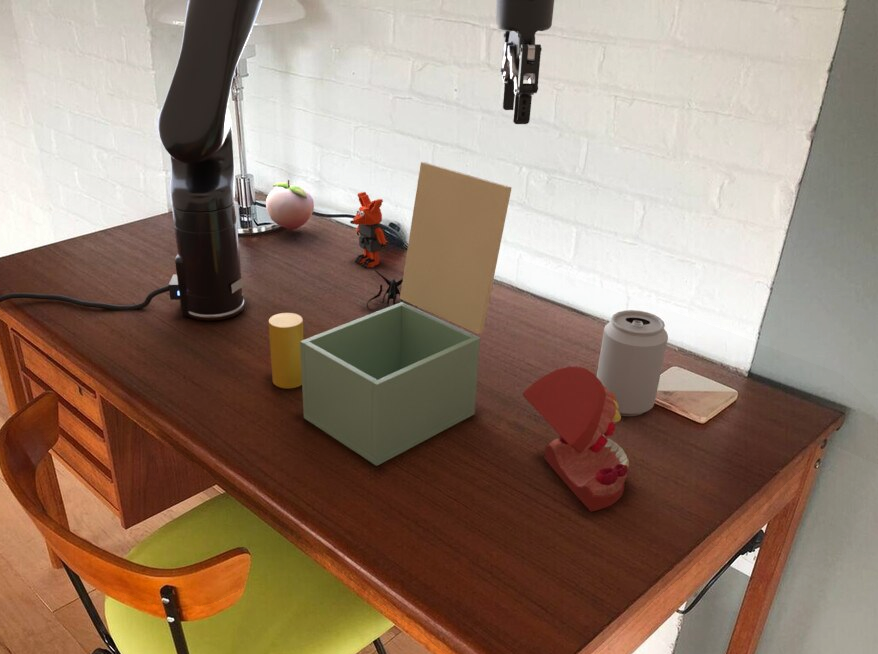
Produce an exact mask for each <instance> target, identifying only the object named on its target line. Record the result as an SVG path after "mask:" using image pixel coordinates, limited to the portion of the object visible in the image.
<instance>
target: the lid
mask: <svg viewBox="0 0 878 654" xmlns="http://www.w3.org/2000/svg"><path fill="white" fill-rule="evenodd" d="M419 165H420V166H419V171H418V178H417V184H416V191H415V196H414V197H415V199H414V204H413V209H412V210H413V211H412V217H411V224H410V230H409V235H408V243H407V250H406V256H405V263H404V268H403V269H404V270H403V276H402V278H403V282H402V283H401V290H400V294H401V295H399V299H400V300H401V299H402V300H403V302H405V303H407V304H409V305H410V304H411V305H413V306H415V307H416V306H417V307H416V308H419V309H422V310H423V311H426V312H429V313H431V315H435V316H437V317H439V318H442V319H443V320H446V321H448V322H450V323H451V324H454V325H457V326H459V327H461V328H464V329H465V330H468V331H470V332H473V333H475V334H477V335H482V334H484V329H485V325H486V320H487V315H488V310H489V304H490V299H491V294H492V288H493V283H494V279H495V274H496V269H497V263H498V258H499V254H500V248H501V243H502V238H503V233H504V228H505V223H506V218H507V213H508V210H509V209H508V208H509V204H510V199H511V193H512V186H508V185H505V184H502V183H499V182H494V181H491V180H488V179H485V178H482V177H478V176H474V175H471V174H467V173H464V172H460V171H457V170H453V169H450V168H447V167H444V166H440V165H436V164H434V163H430V162H427V161H421V162H420V164H419Z"/></svg>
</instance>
